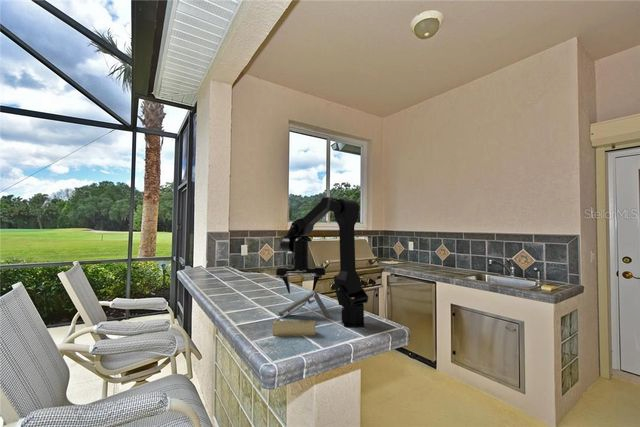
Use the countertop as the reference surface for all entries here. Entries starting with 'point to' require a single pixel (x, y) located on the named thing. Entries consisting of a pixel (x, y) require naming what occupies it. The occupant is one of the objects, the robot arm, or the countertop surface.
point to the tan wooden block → (293, 328)
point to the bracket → (302, 302)
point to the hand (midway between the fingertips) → (301, 293)
